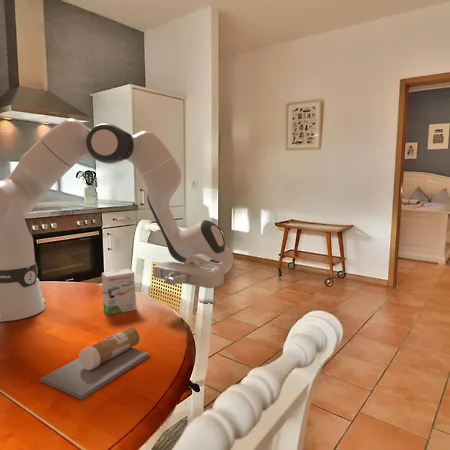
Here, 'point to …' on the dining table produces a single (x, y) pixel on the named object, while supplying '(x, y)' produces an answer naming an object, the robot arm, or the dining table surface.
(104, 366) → the cutting board
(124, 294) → the ink box
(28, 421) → the dining table surface
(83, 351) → the sprinkles bottle
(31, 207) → the robot arm
